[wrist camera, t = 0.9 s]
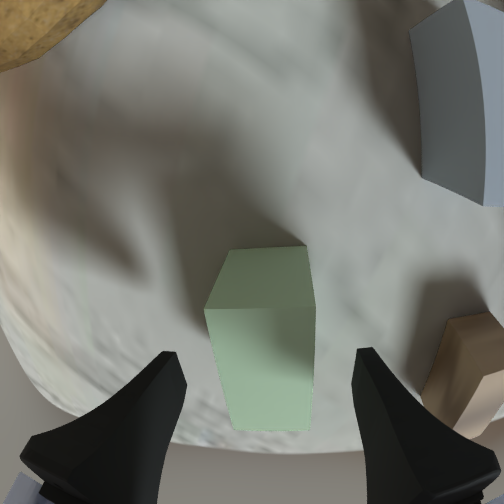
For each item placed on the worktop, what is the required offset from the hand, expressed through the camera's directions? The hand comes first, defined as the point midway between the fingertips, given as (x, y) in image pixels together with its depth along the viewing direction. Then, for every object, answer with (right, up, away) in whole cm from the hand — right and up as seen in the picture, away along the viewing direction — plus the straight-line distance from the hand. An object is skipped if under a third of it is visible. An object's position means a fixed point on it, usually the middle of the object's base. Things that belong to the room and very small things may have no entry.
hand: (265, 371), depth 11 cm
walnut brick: (+13, -2, +4) cm, 14 cm away
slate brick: (+8, +11, -1) cm, 14 cm away
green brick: (+1, +2, +4) cm, 4 cm away
